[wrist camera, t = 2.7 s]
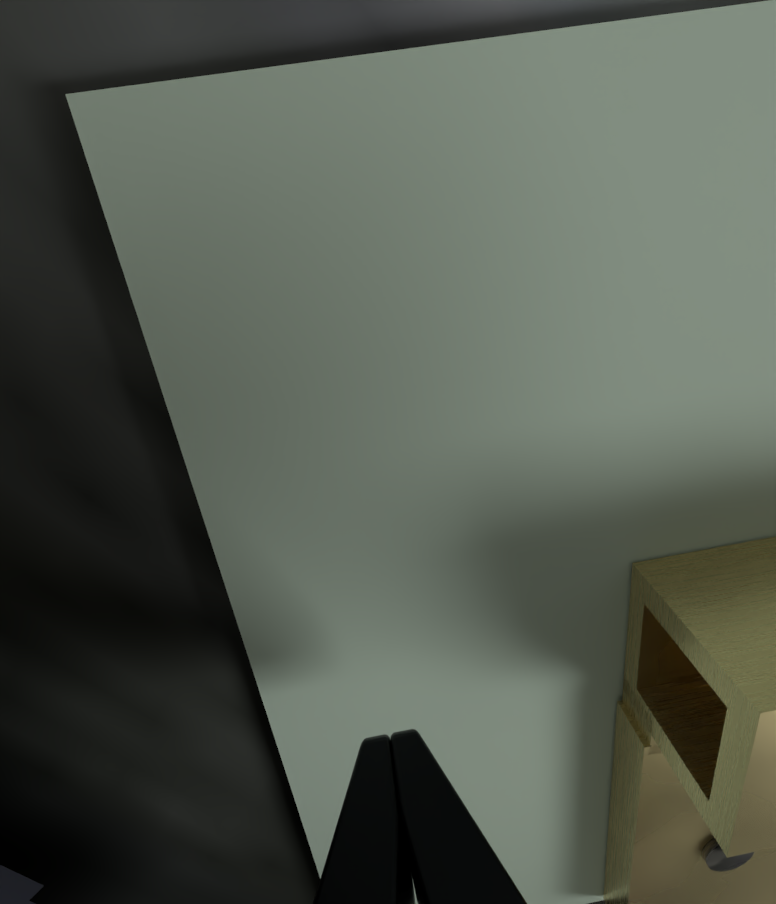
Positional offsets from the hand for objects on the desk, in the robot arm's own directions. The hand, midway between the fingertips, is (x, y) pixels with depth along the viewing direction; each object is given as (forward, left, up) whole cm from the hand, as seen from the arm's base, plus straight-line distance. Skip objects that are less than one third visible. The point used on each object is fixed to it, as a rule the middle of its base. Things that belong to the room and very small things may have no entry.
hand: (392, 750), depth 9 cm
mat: (-11, 0, -2) cm, 11 cm away
